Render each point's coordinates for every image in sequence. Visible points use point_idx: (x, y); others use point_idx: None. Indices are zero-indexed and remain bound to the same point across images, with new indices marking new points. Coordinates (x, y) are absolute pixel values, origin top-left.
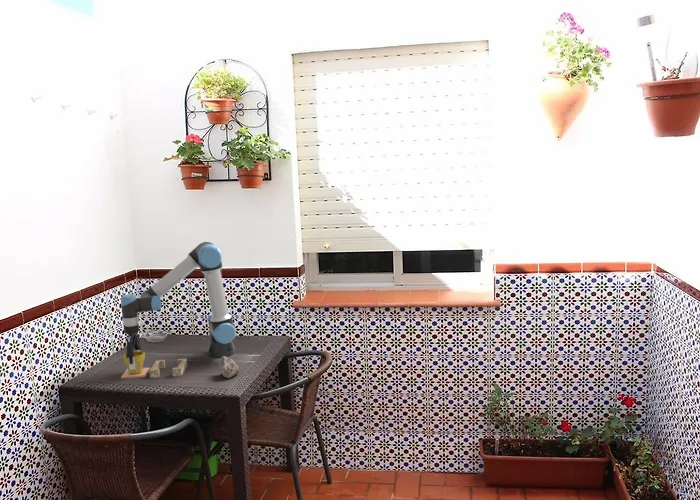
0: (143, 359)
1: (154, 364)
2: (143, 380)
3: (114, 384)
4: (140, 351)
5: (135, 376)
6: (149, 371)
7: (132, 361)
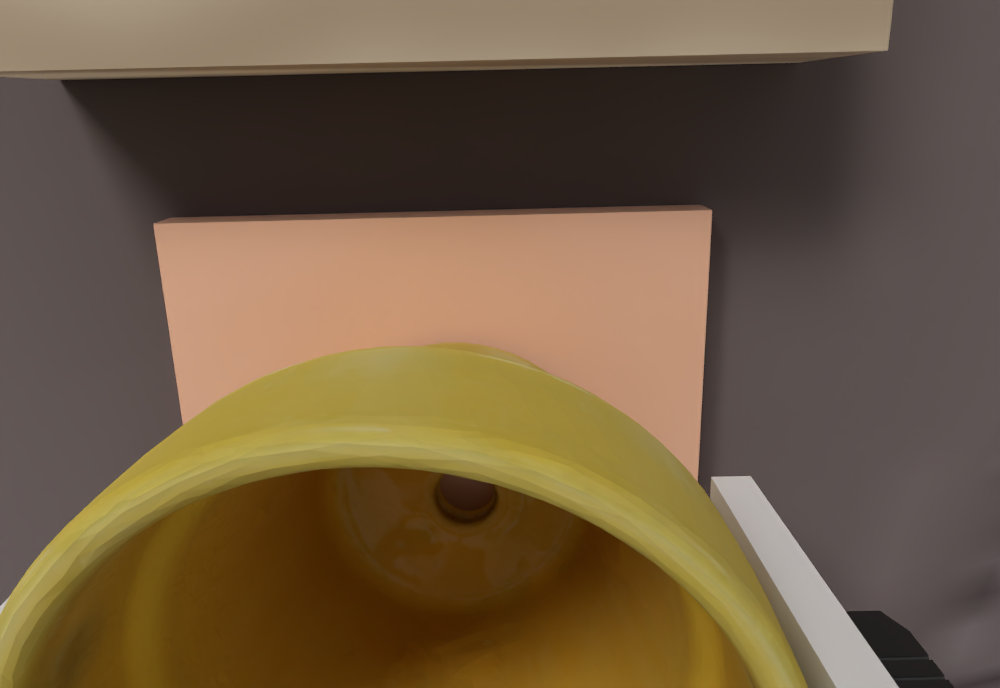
0: (515, 362)
1: (333, 26)
2: (914, 182)
3: (964, 677)
4: (6, 672)
5: (699, 408)
6: (875, 49)
7: (902, 662)
